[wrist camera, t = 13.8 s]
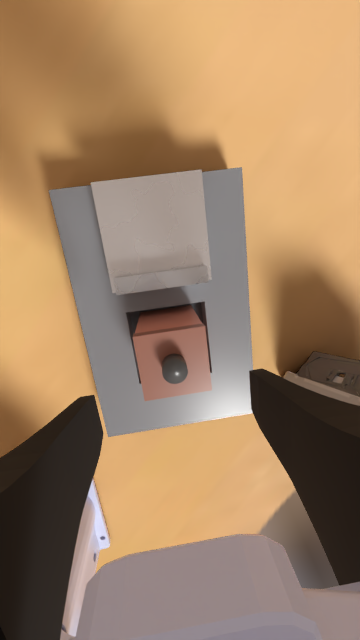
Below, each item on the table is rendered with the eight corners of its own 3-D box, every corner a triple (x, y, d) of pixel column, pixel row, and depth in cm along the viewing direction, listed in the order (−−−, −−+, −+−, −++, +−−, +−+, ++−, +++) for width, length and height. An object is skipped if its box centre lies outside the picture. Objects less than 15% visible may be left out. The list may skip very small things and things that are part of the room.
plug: (197, 352, 21) (215, 399, 15) (148, 359, 21) (143, 410, 14) (191, 304, 20) (208, 331, 14) (139, 311, 20) (130, 342, 13)
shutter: (208, 277, 18) (215, 281, 16) (115, 290, 18) (109, 296, 15) (198, 175, 16) (204, 163, 14) (95, 187, 16) (85, 177, 14)
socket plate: (245, 395, 24) (255, 412, 21) (113, 417, 23) (108, 436, 21) (230, 178, 19) (241, 167, 16) (63, 198, 18) (48, 189, 16)
